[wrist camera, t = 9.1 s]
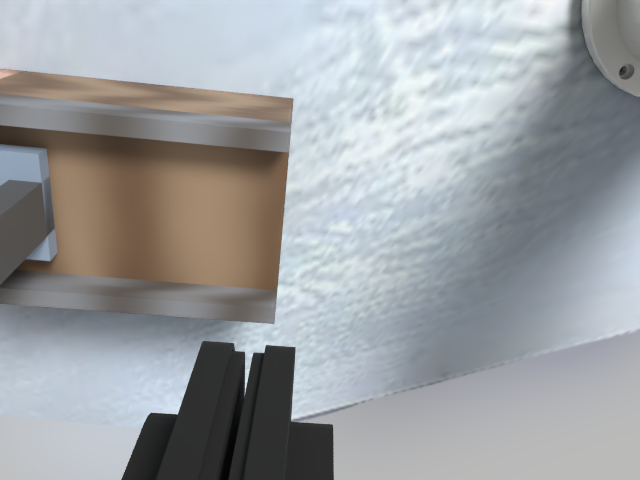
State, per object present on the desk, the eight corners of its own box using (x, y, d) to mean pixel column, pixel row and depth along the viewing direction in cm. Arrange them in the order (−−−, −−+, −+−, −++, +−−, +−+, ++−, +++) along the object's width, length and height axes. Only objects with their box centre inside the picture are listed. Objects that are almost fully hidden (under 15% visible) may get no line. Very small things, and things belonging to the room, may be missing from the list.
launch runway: (293, 98, 34) (290, 132, 27) (279, 258, 39) (274, 323, 32) (22, 71, 33) (-57, 98, 26) (42, 238, 38) (-20, 301, 30)
